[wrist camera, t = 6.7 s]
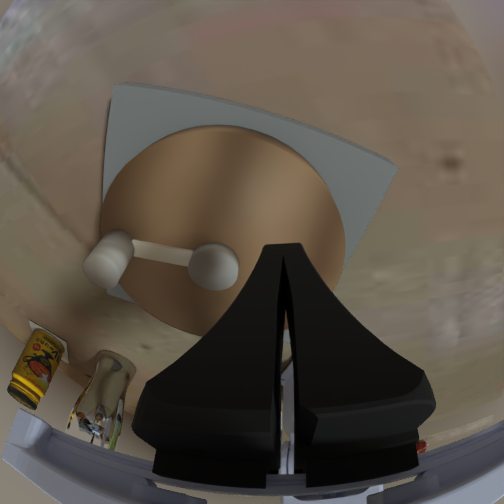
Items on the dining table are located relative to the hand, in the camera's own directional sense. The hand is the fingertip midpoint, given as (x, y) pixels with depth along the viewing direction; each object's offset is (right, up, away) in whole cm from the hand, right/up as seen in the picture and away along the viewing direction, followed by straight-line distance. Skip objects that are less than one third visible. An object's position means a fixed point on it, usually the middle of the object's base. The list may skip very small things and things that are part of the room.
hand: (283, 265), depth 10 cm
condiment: (-33, -14, +24) cm, 44 cm away
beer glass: (-20, -15, +24) cm, 35 cm away
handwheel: (-3, +1, +9) cm, 9 cm away
